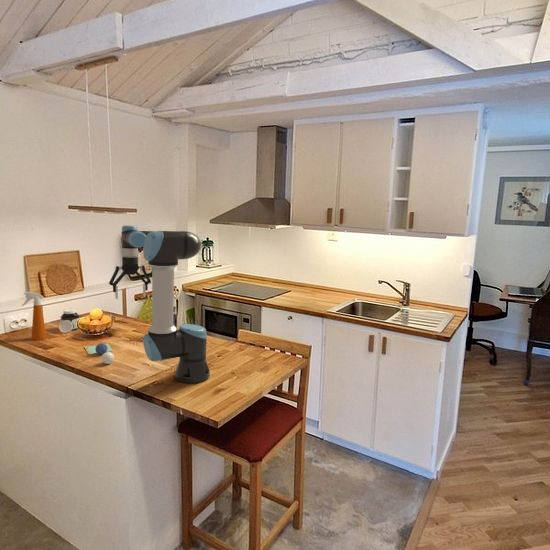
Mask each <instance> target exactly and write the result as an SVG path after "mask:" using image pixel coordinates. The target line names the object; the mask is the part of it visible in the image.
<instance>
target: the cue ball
mask: <svg viewBox="0 0 550 550" xmlns="http://www.w3.org/2000/svg"><path fill="white" fill-rule="evenodd" d="M114 360H115V355H114V354H113V353H112V351H110V352H106V353H104V354H101V361H102V363H103V364H105V365H109V364H112V363H113V362H114Z"/></svg>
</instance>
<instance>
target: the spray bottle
mask: <svg viewBox="0 0 550 550" xmlns="http://www.w3.org/2000/svg"><path fill="white" fill-rule="evenodd" d="M24 295H26V300H25V301H24V303H22V305H21V307H24V306H25V305H26V304H28V303H29V302H30V301H31V300H33V308H32V325H31V340H32V341H44V340H45V339H47V332H46V324H45V319H44V318H45V317H44V313H43V307H42V306H43V305H42V299H44V295H42V294H40V293H37V292H34V291H25V292H24Z"/></svg>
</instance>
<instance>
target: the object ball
mask: <svg viewBox="0 0 550 550" xmlns="http://www.w3.org/2000/svg"><path fill="white" fill-rule="evenodd" d="M106 344H107V343H102V342H101V343H98V344H97V346H96V352H97V354H98V355H103V354H104V353H106V352H107V345H106Z"/></svg>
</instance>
